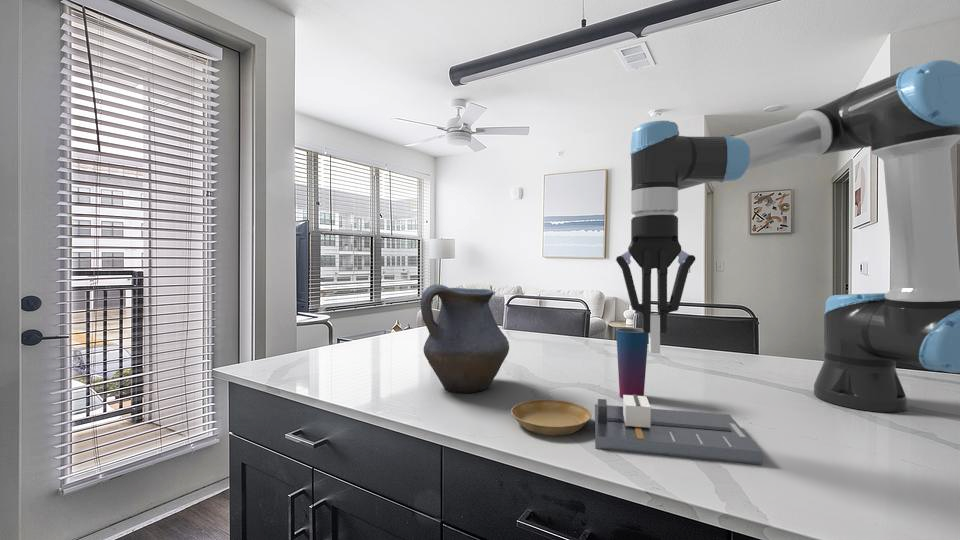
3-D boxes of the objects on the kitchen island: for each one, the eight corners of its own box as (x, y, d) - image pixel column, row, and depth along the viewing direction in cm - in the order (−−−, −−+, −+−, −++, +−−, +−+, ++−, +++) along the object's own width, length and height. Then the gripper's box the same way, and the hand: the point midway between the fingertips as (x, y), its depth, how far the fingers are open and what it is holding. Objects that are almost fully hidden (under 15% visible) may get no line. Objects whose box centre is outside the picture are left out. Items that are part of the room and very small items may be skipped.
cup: (650, 403, 94) (651, 332, 94) (617, 401, 95) (617, 331, 95) (645, 393, 101) (645, 327, 100) (614, 391, 102) (614, 327, 102)
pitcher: (527, 390, 103) (527, 283, 102) (446, 409, 91) (445, 287, 90) (477, 372, 120) (477, 280, 119) (404, 385, 108) (403, 282, 107)
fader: (646, 415, 80) (646, 395, 80) (650, 427, 74) (650, 406, 74) (623, 413, 81) (623, 393, 81) (625, 425, 75) (625, 404, 75)
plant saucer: (495, 422, 84) (495, 408, 84) (549, 406, 93) (549, 394, 93) (552, 449, 72) (552, 433, 72) (608, 428, 81) (608, 413, 81)
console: (729, 425, 81) (729, 398, 81) (761, 464, 66) (762, 431, 66) (594, 414, 87) (594, 389, 87) (595, 448, 72) (595, 417, 72)
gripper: (690, 215, 78) (690, 348, 79) (613, 218, 81) (614, 345, 82) (700, 211, 71) (700, 358, 72) (615, 214, 74) (616, 354, 75)
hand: (654, 351), depth 77 cm, fingers closed
